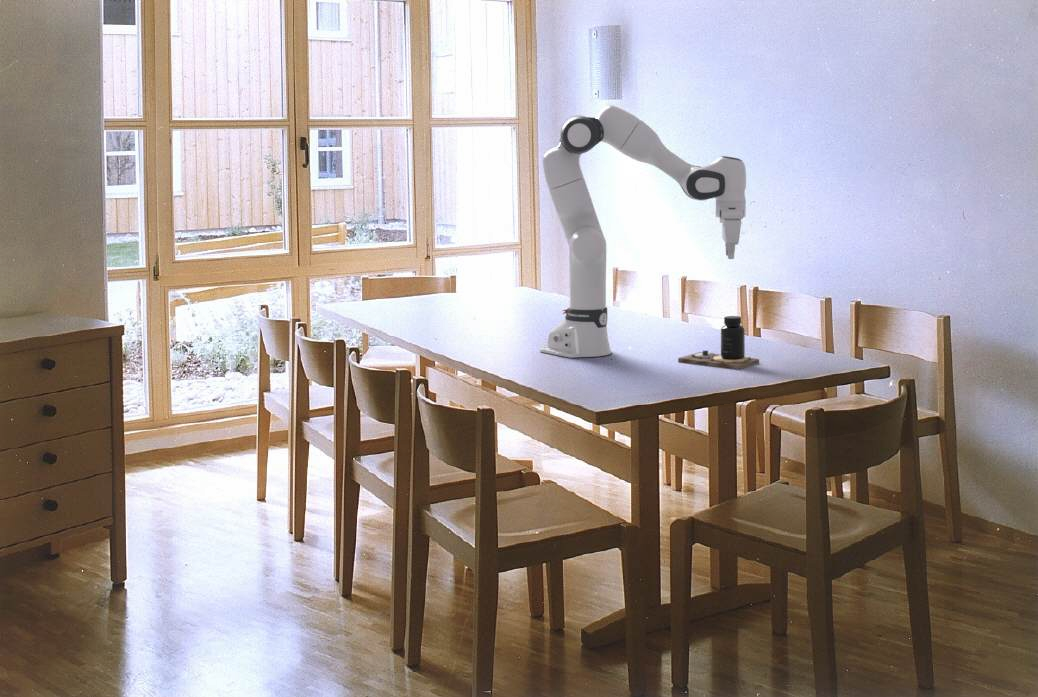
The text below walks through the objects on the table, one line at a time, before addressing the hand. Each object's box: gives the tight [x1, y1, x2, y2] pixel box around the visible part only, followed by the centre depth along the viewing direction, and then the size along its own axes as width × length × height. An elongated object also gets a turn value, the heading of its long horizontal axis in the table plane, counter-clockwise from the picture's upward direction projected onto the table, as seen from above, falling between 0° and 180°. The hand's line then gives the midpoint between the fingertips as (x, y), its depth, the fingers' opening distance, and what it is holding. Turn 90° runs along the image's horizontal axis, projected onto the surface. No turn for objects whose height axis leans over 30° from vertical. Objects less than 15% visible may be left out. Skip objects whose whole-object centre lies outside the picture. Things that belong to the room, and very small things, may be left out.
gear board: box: [677, 349, 760, 371], centre depth 354 cm, size 20×12×3 cm, turn 50°
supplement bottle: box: [720, 315, 746, 360], centre depth 350 cm, size 7×7×12 cm
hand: (729, 257), depth 365 cm, fingers open, 8 cm apart
